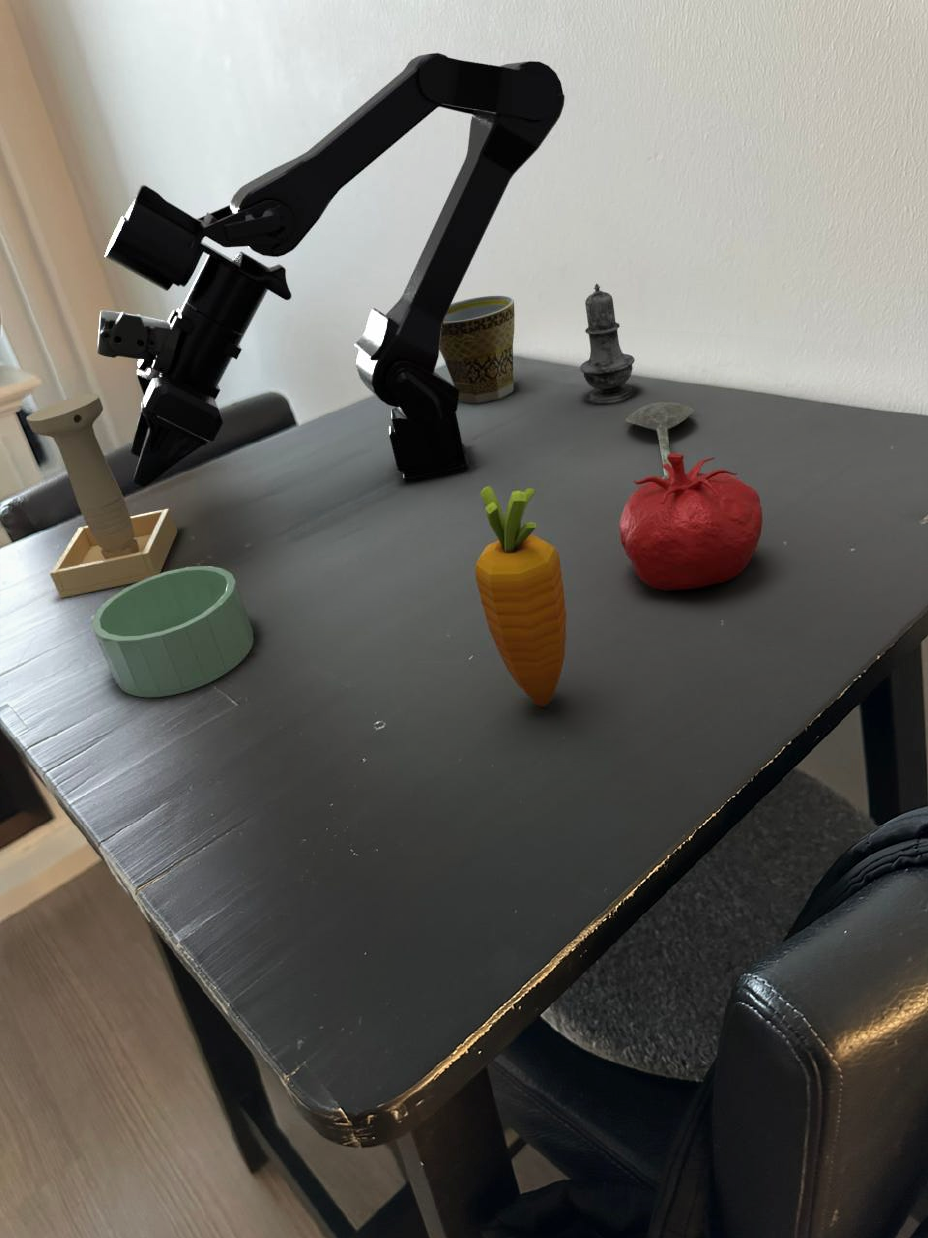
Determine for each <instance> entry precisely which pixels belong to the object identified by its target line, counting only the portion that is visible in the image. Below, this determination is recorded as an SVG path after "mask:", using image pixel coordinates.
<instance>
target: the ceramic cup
mask: <svg viewBox="0 0 928 1238" xmlns="http://www.w3.org/2000/svg"><path fill="white" fill-rule="evenodd" d="M515 314H516V313H515V300H514V298H512V297H510V296H506V295H485V296H479V297H478V296H477V297H473V298H467V299H463V300H460V301H456V302H452V303H451V305H450V307H449V309H448V311H447V313H446V315H445V317H444V320H443V324H442V331H441V340H440V349H439V353H440V354H441V356H442V358H443V361H444V364H445V367H446V369H447V371H448V373H449V376H450V378H451V382H452V385H453V386H455V387H456V388H457V389H458V390H459V399H458V400H460V402H462V403H470V404H480V403H481V404H482V403H487V402H491V401H492V402H493V401H497V400H500V399H502V398H505V397H506V396H507V395H509V394H511V393H513V392H514V381H515V379H514V338H515V318H516V317H515Z"/></svg>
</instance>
